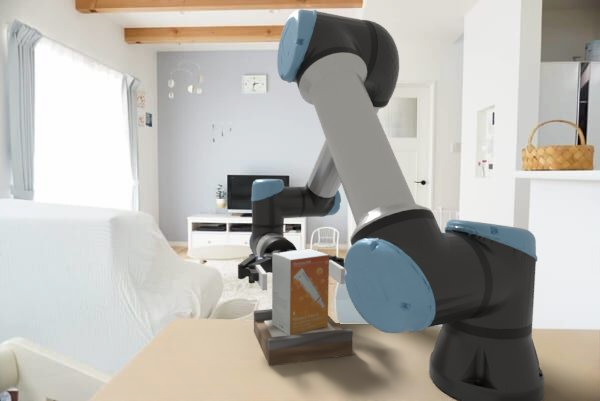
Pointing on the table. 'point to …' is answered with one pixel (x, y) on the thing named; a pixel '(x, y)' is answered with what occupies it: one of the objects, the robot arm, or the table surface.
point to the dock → (300, 341)
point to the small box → (300, 290)
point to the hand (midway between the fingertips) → (304, 279)
